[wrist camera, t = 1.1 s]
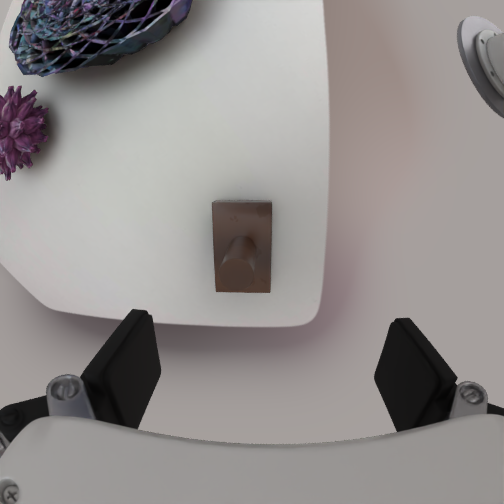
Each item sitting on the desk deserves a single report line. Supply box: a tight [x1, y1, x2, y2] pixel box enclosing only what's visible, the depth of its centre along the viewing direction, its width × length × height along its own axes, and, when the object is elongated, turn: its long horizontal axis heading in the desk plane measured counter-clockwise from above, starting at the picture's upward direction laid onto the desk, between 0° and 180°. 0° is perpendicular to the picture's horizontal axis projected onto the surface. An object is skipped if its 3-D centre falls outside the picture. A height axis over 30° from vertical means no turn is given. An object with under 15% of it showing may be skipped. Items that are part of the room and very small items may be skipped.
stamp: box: [212, 200, 272, 293], centre depth 25 cm, size 9×6×10 cm, turn 0°
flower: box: [0, 86, 48, 181], centre depth 21 cm, size 12×12×12 cm
